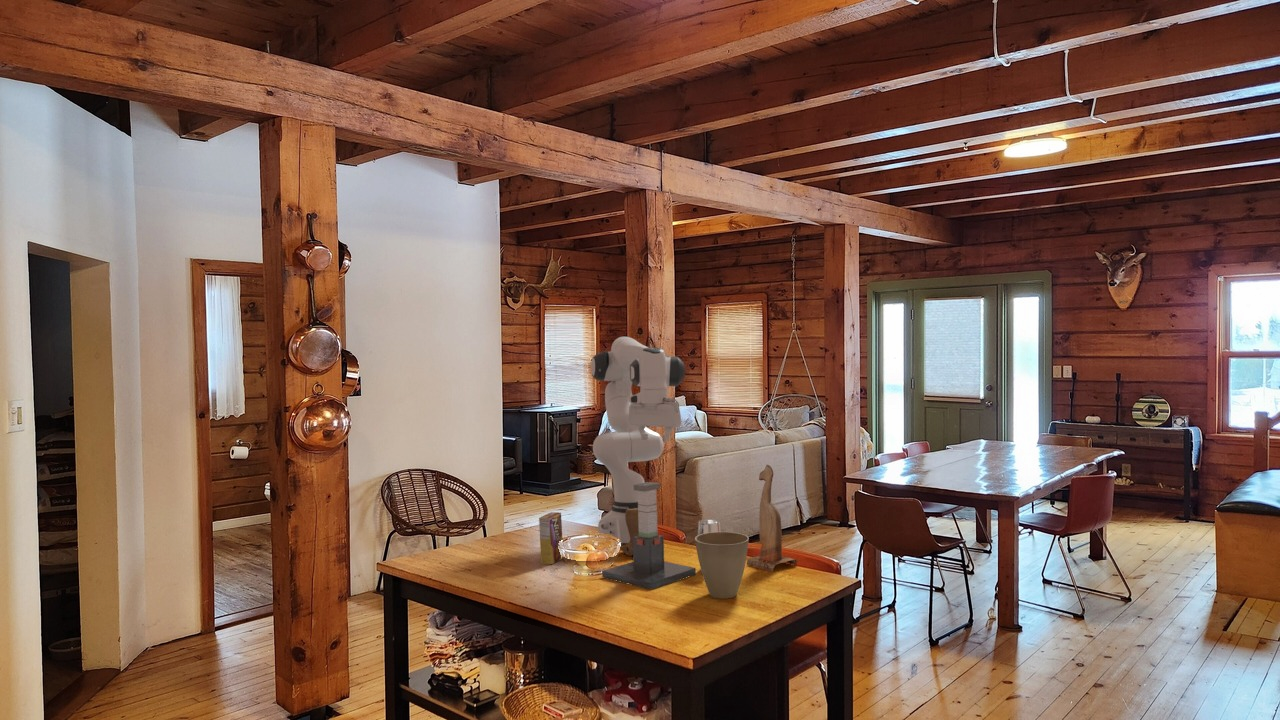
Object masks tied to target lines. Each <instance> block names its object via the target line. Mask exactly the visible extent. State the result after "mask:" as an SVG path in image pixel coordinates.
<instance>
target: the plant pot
mask: <svg viewBox="0 0 1280 720" xmlns="http://www.w3.org/2000/svg"><path fill="white" fill-rule="evenodd" d="M749 539H750V538H749V536H748V535H746V534H743V533H738V532H732V531H721V532H710V533H704V534H700V535H698V534H697V536H695V537H694V543H695V547H696V553H697V558H698V559H697V560H698V563H699V567H701V570H700V571H701V573H702V577H703V581H704V583H705V586H706V588H707V591H708V593H709V596H710V597H711V598H715V599H721V600H724V599H725V600H726V599H733V598H735V597H736V596H737V595H738V593H739V589H740V586H741V582H742V579H743V575H744V572H745V568H746V564H747V557H748V549H749V541H750V540H749Z"/></svg>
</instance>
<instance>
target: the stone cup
mask: <svg viewBox="0 0 1280 720" xmlns="http://www.w3.org/2000/svg"><path fill="white" fill-rule="evenodd" d="M625 520H626V524H627V527H628V531H629V535H630V542H629V543H626V544H625V545H622V546H621V547H620V550H621V551H622V552H623V553H624V554H625V555H626V556H633V537H635V536H639V524H638V508H634V509H627V510H626V513H625Z"/></svg>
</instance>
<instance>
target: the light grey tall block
mask: <svg viewBox="0 0 1280 720" xmlns="http://www.w3.org/2000/svg"><path fill="white" fill-rule="evenodd" d="M659 489H661V483H660V482H653V481H646V482H645V483H641V484H636V485H634V490H636V491H638V524H639V537H640V538H645V539H651V538H655V537H657V535H659V534H658V504H657V502H658V501H657V497H658V496H657V490H659Z"/></svg>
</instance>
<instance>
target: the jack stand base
mask: <svg viewBox="0 0 1280 720" xmlns="http://www.w3.org/2000/svg"><path fill="white" fill-rule="evenodd" d="M664 543H665V537H664V535H660V534H658V535H657V537H655V538H651V539H645V538H640V537H639V536H635V537H633V555H632V556H633V557H632V559H633V560H632V561H631V562H628V563H624V564H621V565H617V566H615V567H611V568H608V569H607V568H606V569H604V570H601V573H602V575H601V576H602V577H604V578H603V579H606V578H608V580H610V579H612V581H614V580H617V581H616V582H618V581H621V582H620V583H622V582H624V583H623V584H626V583H629V584H628V585H630V584H632V585H631V586H634V585H635V587H639V588H642V589H647V590H651V589H652V590H654V588H655V589H657V588H660V587H663V586H665V585H669V584H672V583H674V581H675V582H678V581H681V580H683V578H684V579H687V578H689V577H688V576H690V577H693V576H695V574H696V571H697V569H696V567H692V566H687V565H683V564H678V563H673V562H669V561H665V544H664ZM692 575H693V576H692ZM686 577H687V578H686ZM680 579H681V580H680ZM677 580H678V581H677ZM652 590H651V591H652Z"/></svg>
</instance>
